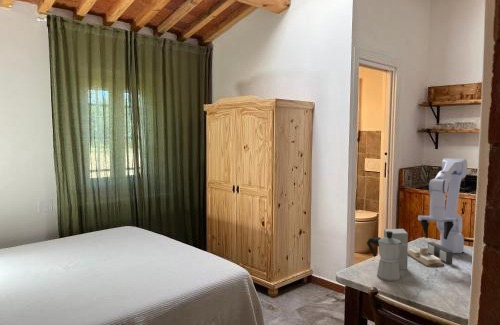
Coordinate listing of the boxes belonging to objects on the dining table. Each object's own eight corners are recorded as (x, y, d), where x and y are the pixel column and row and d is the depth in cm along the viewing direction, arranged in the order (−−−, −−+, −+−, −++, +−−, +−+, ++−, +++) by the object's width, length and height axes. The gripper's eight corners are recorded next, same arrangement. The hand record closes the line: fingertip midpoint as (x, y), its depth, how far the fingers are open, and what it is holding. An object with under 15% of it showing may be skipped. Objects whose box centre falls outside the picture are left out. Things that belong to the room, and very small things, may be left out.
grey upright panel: (452, 264, 159) (452, 251, 159) (446, 264, 159) (447, 251, 159) (432, 253, 173) (432, 241, 173) (427, 253, 173) (427, 242, 173)
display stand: (421, 252, 174) (421, 242, 174) (444, 265, 157) (444, 253, 157) (404, 253, 173) (405, 242, 173) (426, 266, 156) (426, 254, 156)
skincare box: (402, 264, 159) (403, 228, 158) (408, 270, 152) (409, 232, 151) (382, 264, 160) (383, 227, 158) (386, 270, 153) (387, 232, 151)
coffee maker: (407, 276, 146) (409, 231, 144) (403, 284, 138) (404, 236, 137) (369, 269, 154) (370, 226, 152) (363, 276, 147) (364, 231, 145)
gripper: (421, 207, 158) (420, 238, 158) (459, 209, 155) (457, 241, 155) (417, 204, 165) (416, 235, 165) (453, 206, 162) (451, 237, 162)
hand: (435, 238), depth 161 cm, fingers open, 7 cm apart
